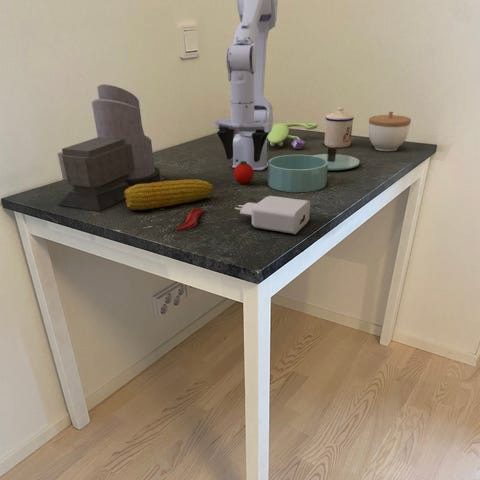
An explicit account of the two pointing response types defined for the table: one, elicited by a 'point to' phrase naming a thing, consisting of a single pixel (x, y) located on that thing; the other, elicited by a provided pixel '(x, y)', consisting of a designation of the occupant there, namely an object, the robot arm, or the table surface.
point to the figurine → (281, 133)
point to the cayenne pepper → (191, 219)
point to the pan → (297, 173)
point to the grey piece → (109, 154)
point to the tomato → (243, 172)
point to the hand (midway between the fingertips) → (243, 159)
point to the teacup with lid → (338, 128)
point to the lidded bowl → (388, 131)
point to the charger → (277, 214)
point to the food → (166, 193)
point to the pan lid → (338, 160)
